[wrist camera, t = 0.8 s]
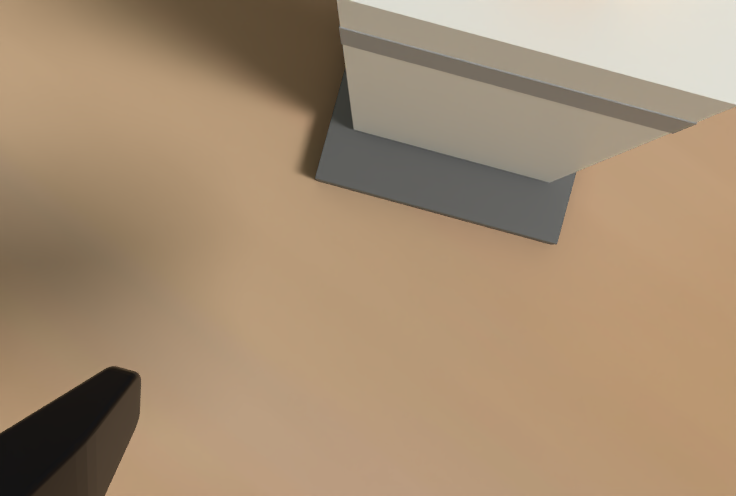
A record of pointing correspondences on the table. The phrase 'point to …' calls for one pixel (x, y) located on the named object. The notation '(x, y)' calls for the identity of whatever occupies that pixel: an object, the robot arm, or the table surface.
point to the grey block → (440, 180)
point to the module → (536, 75)
